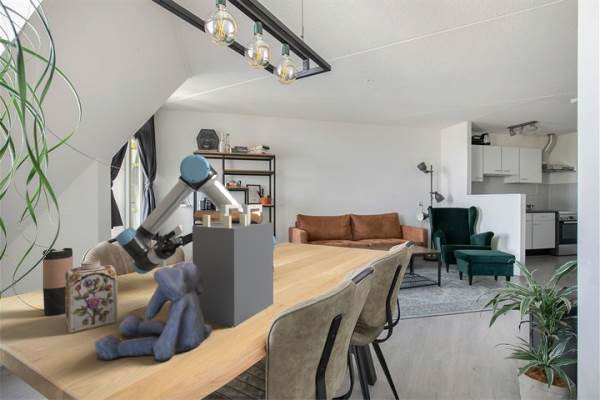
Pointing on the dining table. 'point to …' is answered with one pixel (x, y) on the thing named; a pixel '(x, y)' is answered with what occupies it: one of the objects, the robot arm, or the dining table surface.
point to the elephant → (157, 334)
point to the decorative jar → (90, 296)
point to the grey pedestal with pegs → (234, 266)
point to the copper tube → (235, 215)
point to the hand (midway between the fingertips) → (196, 226)
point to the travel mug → (55, 280)
